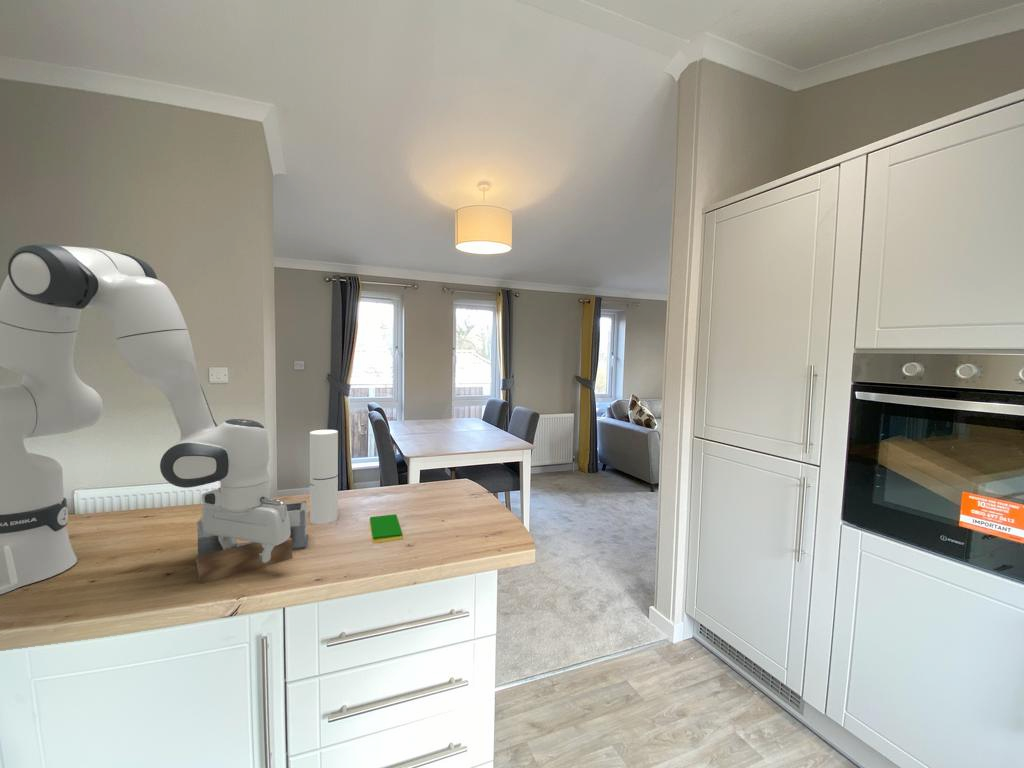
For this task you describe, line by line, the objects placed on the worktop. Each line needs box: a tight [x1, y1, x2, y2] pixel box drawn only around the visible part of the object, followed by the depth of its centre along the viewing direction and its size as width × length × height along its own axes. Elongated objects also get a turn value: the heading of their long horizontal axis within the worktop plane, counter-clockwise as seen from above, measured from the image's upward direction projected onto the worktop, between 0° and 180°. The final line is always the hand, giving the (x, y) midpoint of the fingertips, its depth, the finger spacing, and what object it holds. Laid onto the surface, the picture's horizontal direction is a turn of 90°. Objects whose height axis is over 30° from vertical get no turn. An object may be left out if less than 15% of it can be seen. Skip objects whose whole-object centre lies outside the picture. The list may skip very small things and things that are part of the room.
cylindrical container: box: [309, 429, 339, 525], centre depth 118 cm, size 7×7×25 cm
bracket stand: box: [194, 500, 310, 565], centre depth 99 cm, size 22×7×10 cm, turn 113°
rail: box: [196, 537, 293, 585], centre depth 91 cm, size 17×3×5 cm, turn 132°
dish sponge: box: [369, 514, 403, 544], centre depth 112 cm, size 7×14×2 cm, turn 22°
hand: (246, 557), depth 91 cm, fingers open, 8 cm apart
